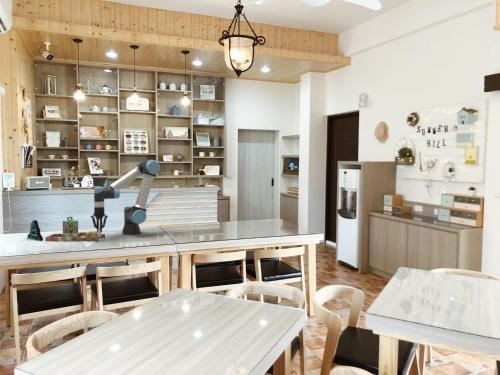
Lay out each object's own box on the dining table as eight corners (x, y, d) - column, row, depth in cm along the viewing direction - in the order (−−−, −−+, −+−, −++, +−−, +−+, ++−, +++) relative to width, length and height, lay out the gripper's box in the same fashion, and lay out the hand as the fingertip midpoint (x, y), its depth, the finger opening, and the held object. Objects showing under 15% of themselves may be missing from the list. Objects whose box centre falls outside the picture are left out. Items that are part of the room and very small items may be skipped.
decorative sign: (43, 240, 324) (42, 221, 323) (40, 241, 322) (39, 221, 321) (30, 237, 334) (29, 219, 333) (27, 238, 332) (26, 219, 331)
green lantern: (68, 236, 341) (67, 218, 340) (62, 234, 347) (61, 217, 346) (78, 234, 349) (78, 217, 347) (72, 233, 354) (72, 215, 353)
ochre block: (97, 238, 333) (97, 231, 332) (94, 240, 326) (94, 233, 326) (88, 238, 333) (88, 231, 332) (85, 240, 326) (85, 233, 325)
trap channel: (107, 236, 344) (107, 232, 344) (98, 241, 322) (98, 237, 322) (57, 235, 343) (57, 232, 343) (45, 241, 321) (45, 237, 321)
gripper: (89, 207, 323) (89, 237, 325) (106, 207, 324) (106, 237, 326) (92, 206, 331) (92, 235, 333) (109, 206, 331) (109, 235, 333)
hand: (99, 236), depth 329 cm, fingers closed
